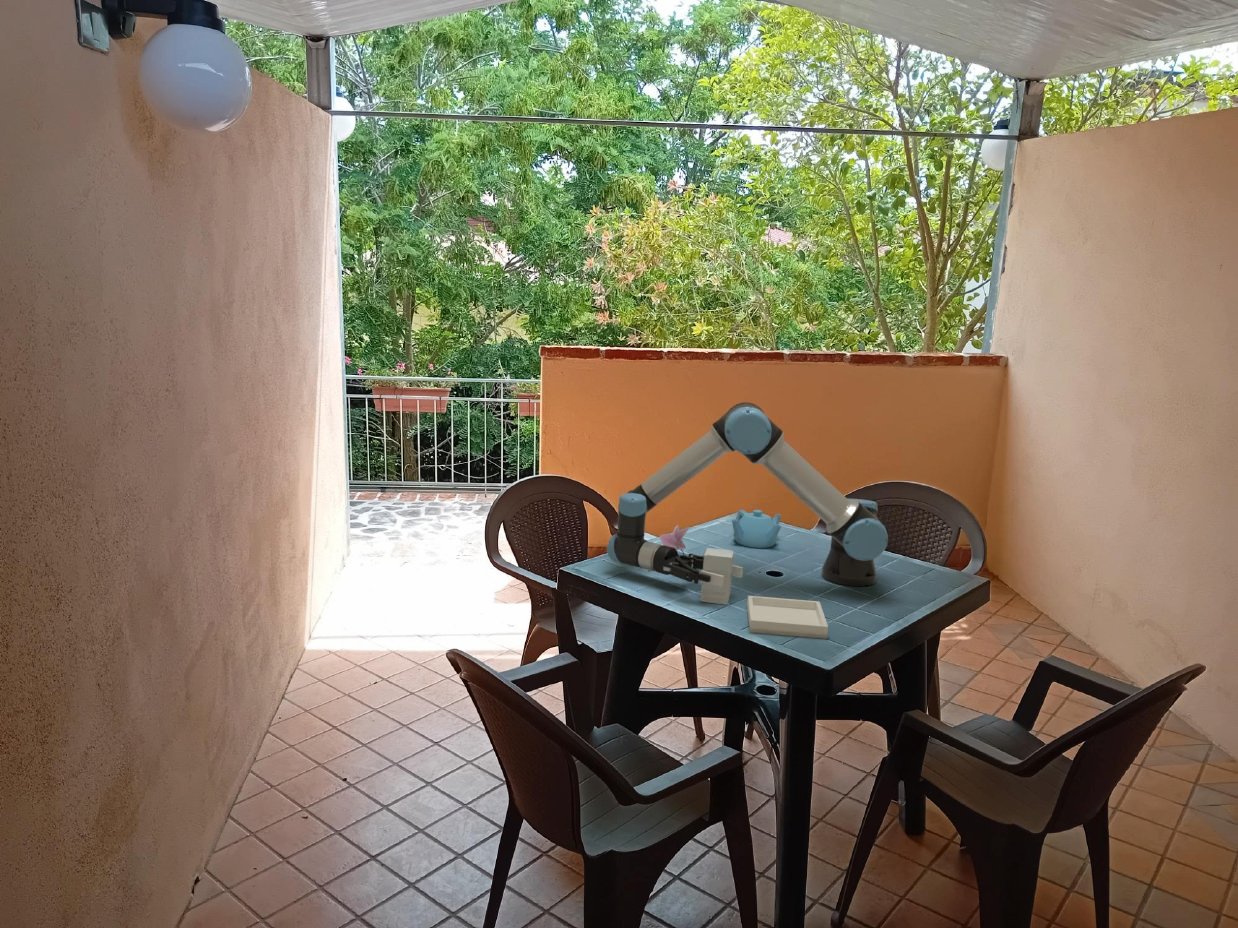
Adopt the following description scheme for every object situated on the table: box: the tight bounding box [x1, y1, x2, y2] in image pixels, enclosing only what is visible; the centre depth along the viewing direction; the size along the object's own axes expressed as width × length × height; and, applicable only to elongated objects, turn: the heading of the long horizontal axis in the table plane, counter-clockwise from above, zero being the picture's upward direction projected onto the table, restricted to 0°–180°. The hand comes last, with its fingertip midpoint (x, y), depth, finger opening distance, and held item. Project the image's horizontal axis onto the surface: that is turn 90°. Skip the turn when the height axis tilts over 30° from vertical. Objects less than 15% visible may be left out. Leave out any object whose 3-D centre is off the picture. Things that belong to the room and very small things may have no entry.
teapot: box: [731, 509, 782, 549], centre depth 299 cm, size 15×15×11 cm
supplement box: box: [699, 547, 735, 606], centre depth 243 cm, size 7×7×13 cm
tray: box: [746, 595, 829, 640], centre depth 230 cm, size 18×18×3 cm
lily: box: [659, 524, 690, 555], centre depth 279 cm, size 12×12×10 cm
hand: (732, 576), depth 240 cm, fingers closed on supplement box, 9 cm apart
